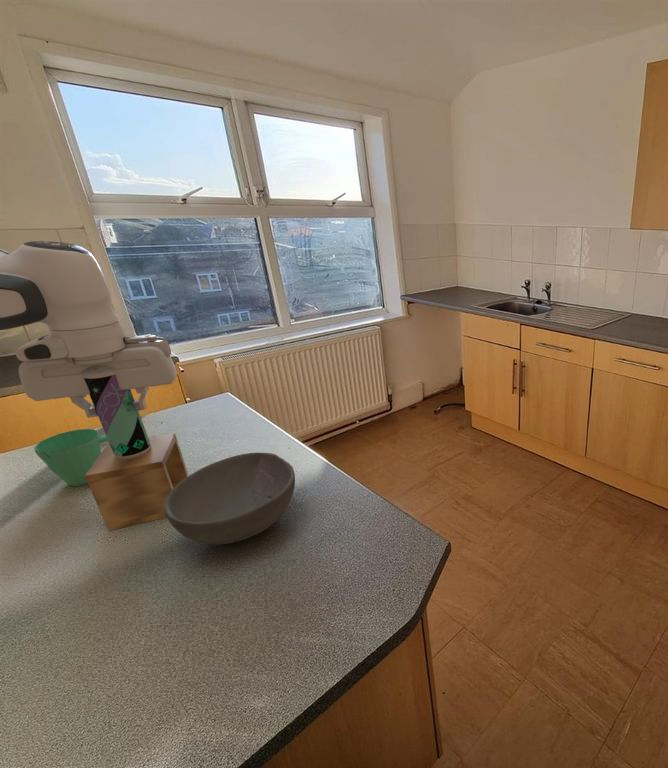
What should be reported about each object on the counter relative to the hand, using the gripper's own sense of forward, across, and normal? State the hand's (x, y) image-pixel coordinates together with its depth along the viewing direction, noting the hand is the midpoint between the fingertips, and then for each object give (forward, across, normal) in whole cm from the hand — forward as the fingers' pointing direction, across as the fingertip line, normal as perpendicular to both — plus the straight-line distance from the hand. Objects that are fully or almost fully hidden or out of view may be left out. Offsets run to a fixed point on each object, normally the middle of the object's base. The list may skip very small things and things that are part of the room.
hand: (118, 412), depth 79 cm
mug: (+21, +13, -17) cm, 30 cm away
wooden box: (+21, 0, 0) cm, 21 cm away
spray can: (+9, 0, 0) cm, 9 cm away
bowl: (+21, -17, +15) cm, 31 cm away
